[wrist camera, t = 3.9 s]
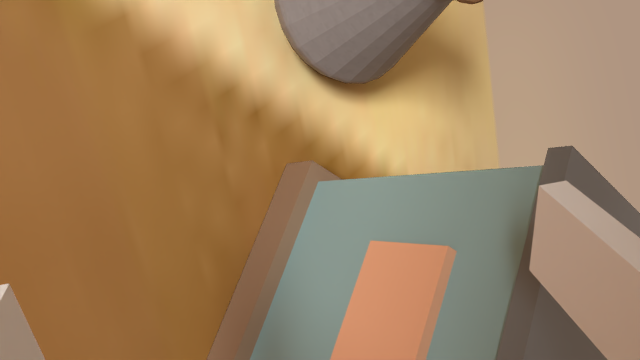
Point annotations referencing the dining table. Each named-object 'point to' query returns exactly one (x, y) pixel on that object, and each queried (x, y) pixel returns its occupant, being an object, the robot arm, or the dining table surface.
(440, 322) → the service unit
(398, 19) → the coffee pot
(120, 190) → the dining table surface
